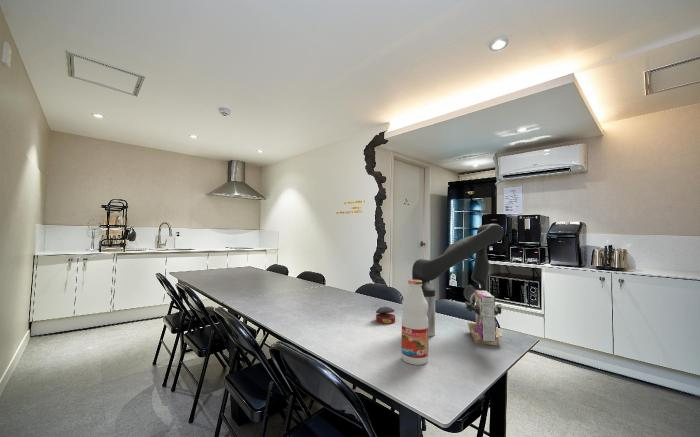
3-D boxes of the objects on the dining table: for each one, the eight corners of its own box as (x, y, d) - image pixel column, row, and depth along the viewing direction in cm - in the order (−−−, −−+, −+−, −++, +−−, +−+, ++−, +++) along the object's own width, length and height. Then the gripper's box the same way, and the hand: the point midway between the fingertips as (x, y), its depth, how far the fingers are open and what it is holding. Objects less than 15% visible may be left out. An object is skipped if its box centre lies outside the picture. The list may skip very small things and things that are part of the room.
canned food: (376, 331, 145) (367, 313, 148) (385, 324, 153) (377, 307, 156) (394, 325, 139) (384, 306, 142) (402, 318, 148) (393, 300, 150)
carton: (471, 343, 119) (471, 333, 119) (467, 330, 136) (466, 321, 136) (503, 347, 115) (503, 337, 116) (494, 333, 132) (494, 324, 133)
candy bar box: (475, 331, 116) (474, 290, 116) (488, 331, 115) (487, 290, 115) (481, 341, 105) (480, 296, 105) (496, 342, 104) (495, 296, 104)
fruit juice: (433, 360, 102) (433, 280, 104) (418, 368, 96) (419, 283, 97) (411, 352, 109) (411, 277, 110) (395, 359, 102) (396, 279, 104)
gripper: (462, 291, 125) (465, 300, 109) (498, 294, 121) (507, 303, 105) (462, 309, 125) (466, 320, 109) (499, 312, 121) (508, 324, 104)
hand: (486, 312), depth 107 cm, fingers closed on candy bar box, 5 cm apart
